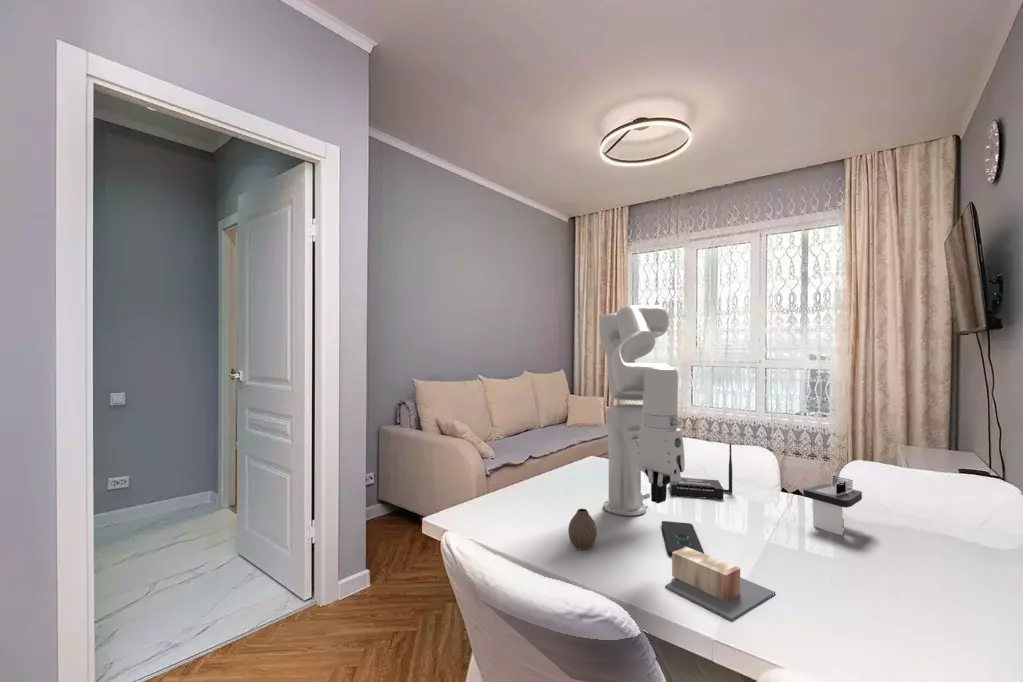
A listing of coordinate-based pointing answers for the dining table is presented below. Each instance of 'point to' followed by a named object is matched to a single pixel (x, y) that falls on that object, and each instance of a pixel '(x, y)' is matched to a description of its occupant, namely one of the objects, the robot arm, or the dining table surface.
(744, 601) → the mat
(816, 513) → the black-topped pedestal
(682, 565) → the maple block
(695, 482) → the black wifi router
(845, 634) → the dining table surface
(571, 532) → the vase
